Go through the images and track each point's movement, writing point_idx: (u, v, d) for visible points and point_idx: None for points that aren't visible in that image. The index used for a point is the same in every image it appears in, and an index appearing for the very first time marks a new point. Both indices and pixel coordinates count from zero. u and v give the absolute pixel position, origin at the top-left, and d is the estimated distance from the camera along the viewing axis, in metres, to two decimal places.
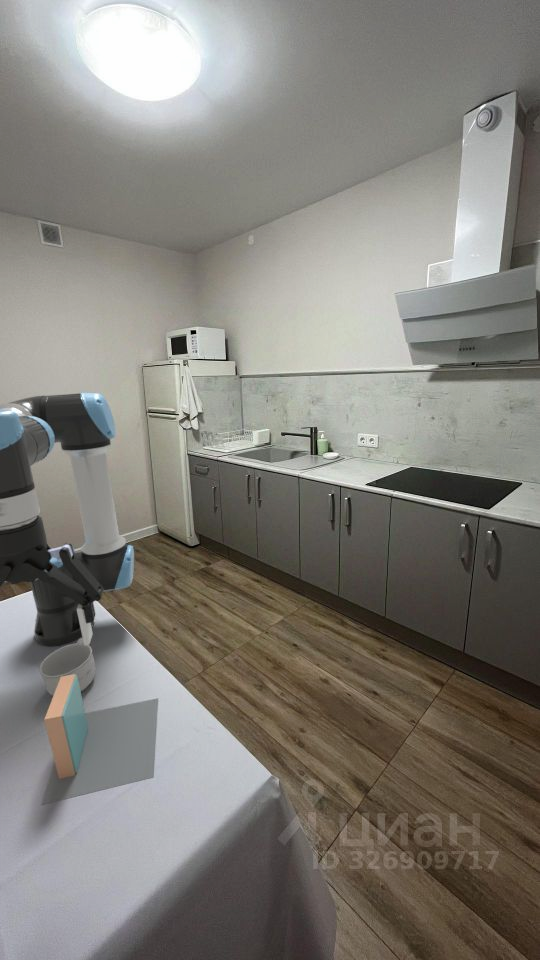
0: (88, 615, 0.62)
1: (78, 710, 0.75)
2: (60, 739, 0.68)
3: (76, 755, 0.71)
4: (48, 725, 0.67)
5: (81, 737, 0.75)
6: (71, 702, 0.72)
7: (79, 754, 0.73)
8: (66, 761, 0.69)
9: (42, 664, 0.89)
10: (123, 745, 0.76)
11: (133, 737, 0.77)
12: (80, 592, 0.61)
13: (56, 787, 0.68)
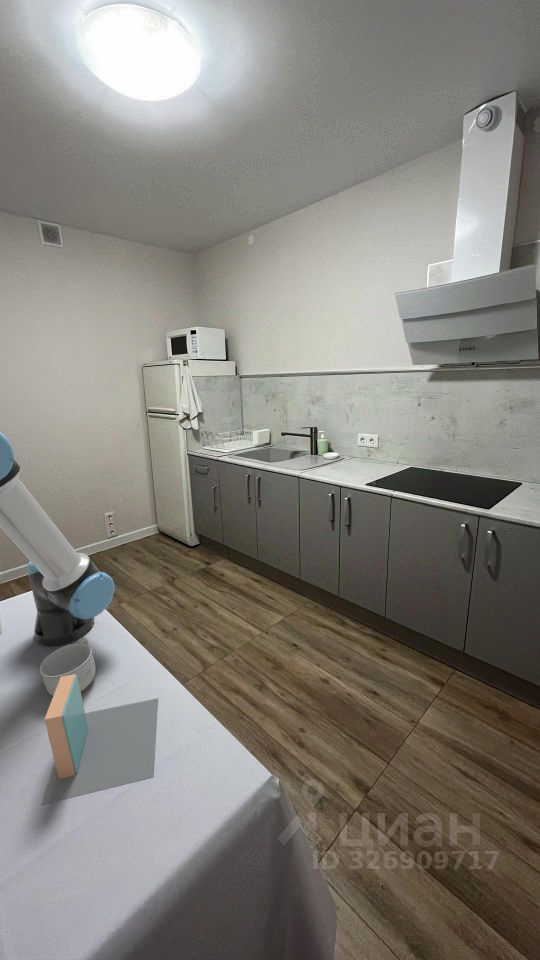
0: None
1: (78, 710, 0.75)
2: (60, 739, 0.68)
3: (76, 755, 0.71)
4: (48, 725, 0.67)
5: (81, 737, 0.75)
6: (71, 702, 0.72)
7: (79, 754, 0.73)
8: (66, 761, 0.69)
9: (42, 664, 0.89)
10: (123, 745, 0.76)
11: (133, 737, 0.77)
12: None
13: (56, 787, 0.68)
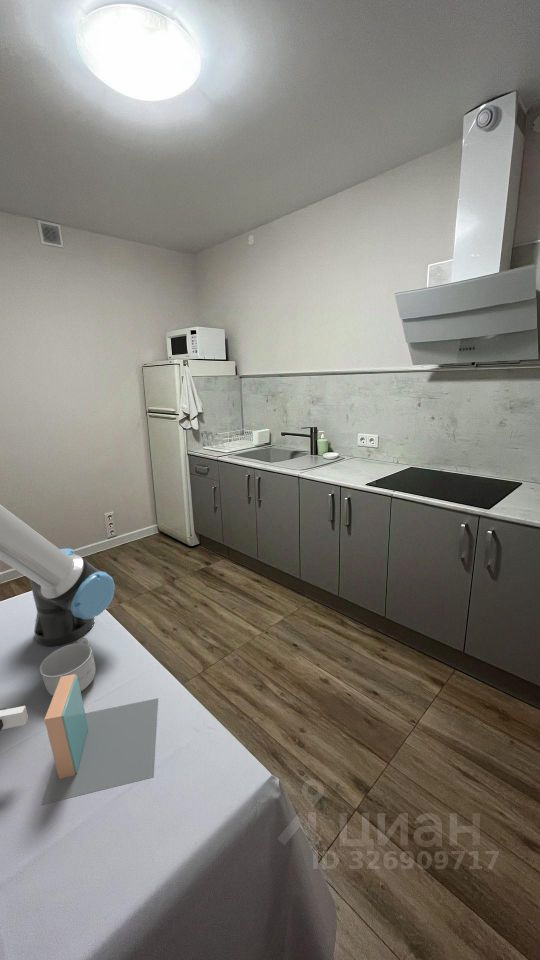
0: None
1: (78, 710, 0.75)
2: (60, 739, 0.68)
3: (76, 755, 0.71)
4: (48, 725, 0.67)
5: (81, 737, 0.75)
6: (71, 702, 0.72)
7: (79, 754, 0.73)
8: (66, 761, 0.69)
9: (42, 664, 0.89)
10: (123, 745, 0.76)
11: (133, 737, 0.77)
12: None
13: (56, 787, 0.68)
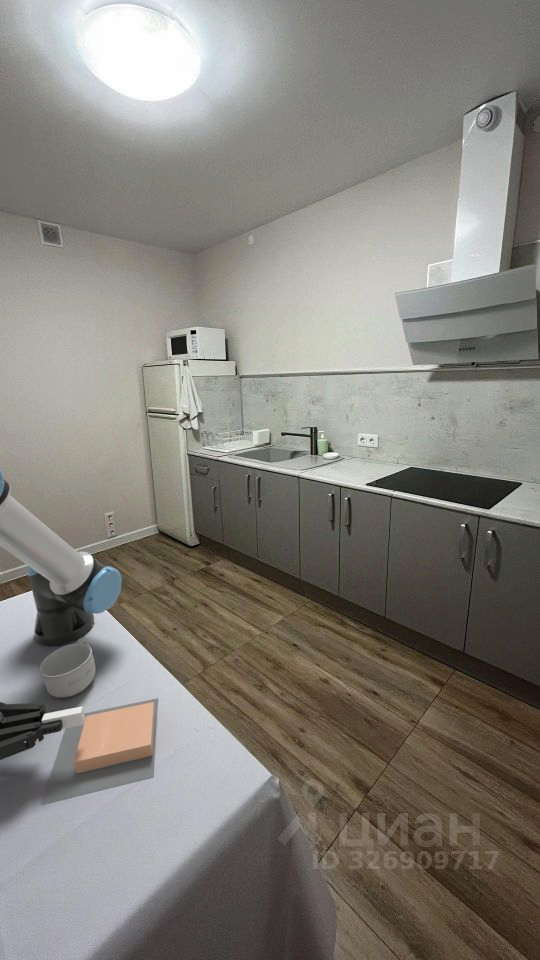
0: None
1: None
2: (125, 757, 0.72)
3: None
4: (143, 747, 0.72)
5: None
6: None
7: None
8: (96, 765, 0.71)
9: (42, 664, 0.89)
10: None
11: None
12: None
13: (56, 787, 0.68)
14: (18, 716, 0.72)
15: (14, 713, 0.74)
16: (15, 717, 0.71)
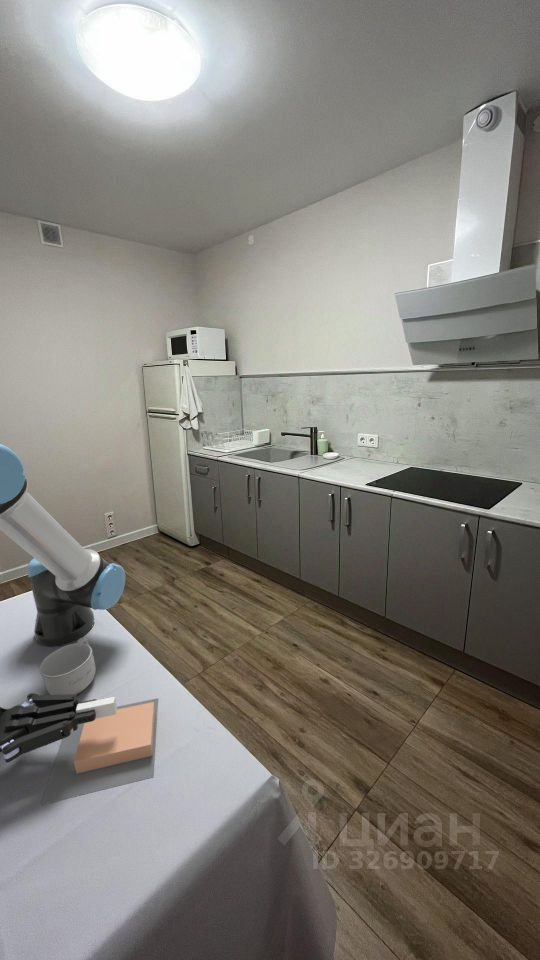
0: None
1: None
2: (125, 757, 0.72)
3: None
4: (143, 747, 0.72)
5: None
6: None
7: None
8: (96, 765, 0.71)
9: (42, 664, 0.89)
10: None
11: None
12: None
13: (56, 787, 0.68)
14: (52, 706, 0.73)
15: (48, 704, 0.75)
16: (49, 707, 0.73)
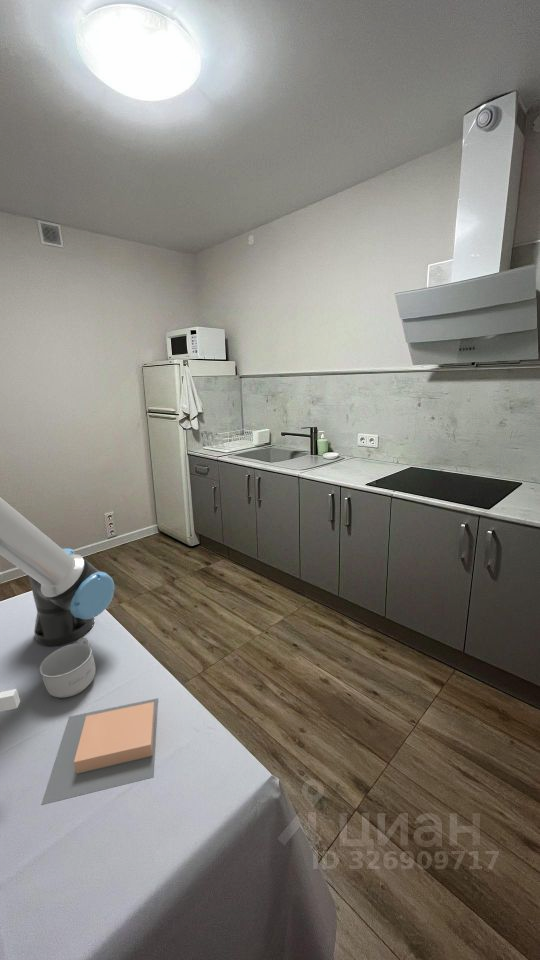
0: None
1: None
2: (125, 757, 0.72)
3: None
4: (143, 747, 0.72)
5: None
6: None
7: None
8: (96, 765, 0.71)
9: (42, 664, 0.89)
10: None
11: None
12: None
13: (56, 787, 0.68)
14: None
15: None
16: None
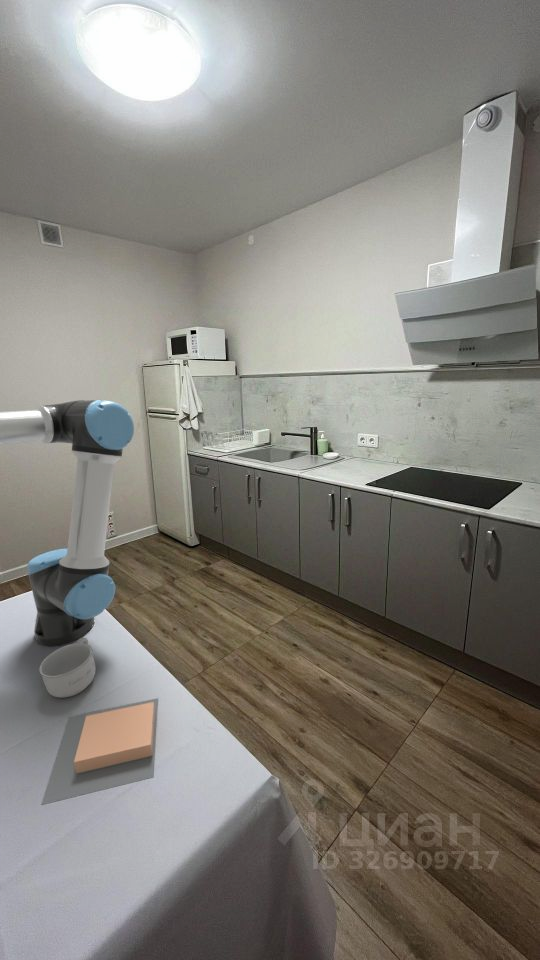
0: None
1: None
2: (125, 757, 0.72)
3: None
4: (143, 747, 0.72)
5: None
6: None
7: None
8: (96, 765, 0.71)
9: (42, 664, 0.89)
10: None
11: None
12: None
13: (56, 787, 0.68)
14: None
15: None
16: None
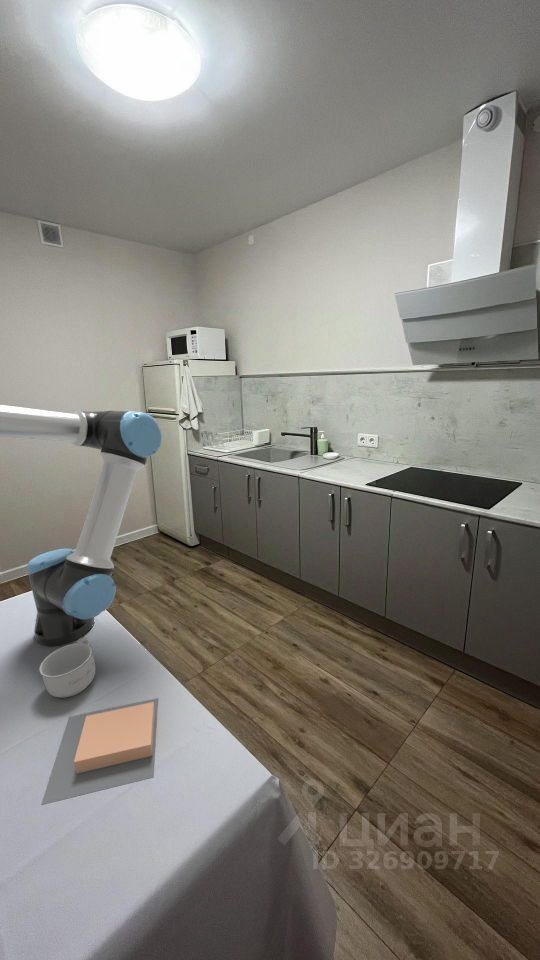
0: None
1: None
2: (125, 757, 0.72)
3: None
4: (143, 747, 0.72)
5: None
6: None
7: None
8: (96, 765, 0.71)
9: (42, 664, 0.89)
10: None
11: None
12: None
13: (56, 787, 0.68)
14: None
15: None
16: None
